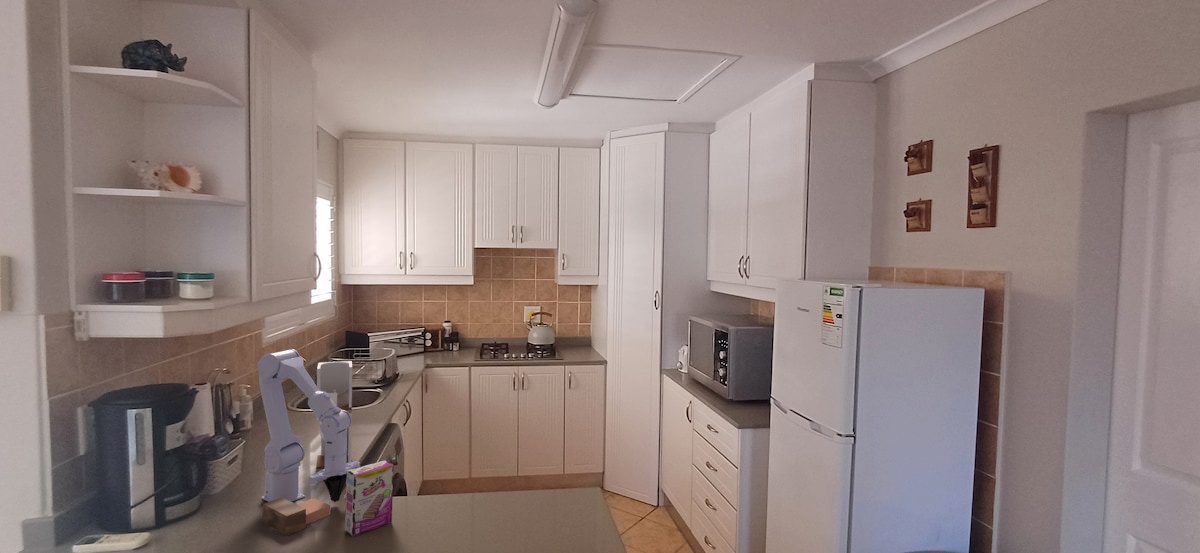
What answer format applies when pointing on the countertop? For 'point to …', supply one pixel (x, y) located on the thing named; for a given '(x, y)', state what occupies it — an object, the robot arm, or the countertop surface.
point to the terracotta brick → (315, 510)
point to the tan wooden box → (284, 516)
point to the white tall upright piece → (336, 397)
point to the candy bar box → (368, 497)
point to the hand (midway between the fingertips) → (335, 500)
